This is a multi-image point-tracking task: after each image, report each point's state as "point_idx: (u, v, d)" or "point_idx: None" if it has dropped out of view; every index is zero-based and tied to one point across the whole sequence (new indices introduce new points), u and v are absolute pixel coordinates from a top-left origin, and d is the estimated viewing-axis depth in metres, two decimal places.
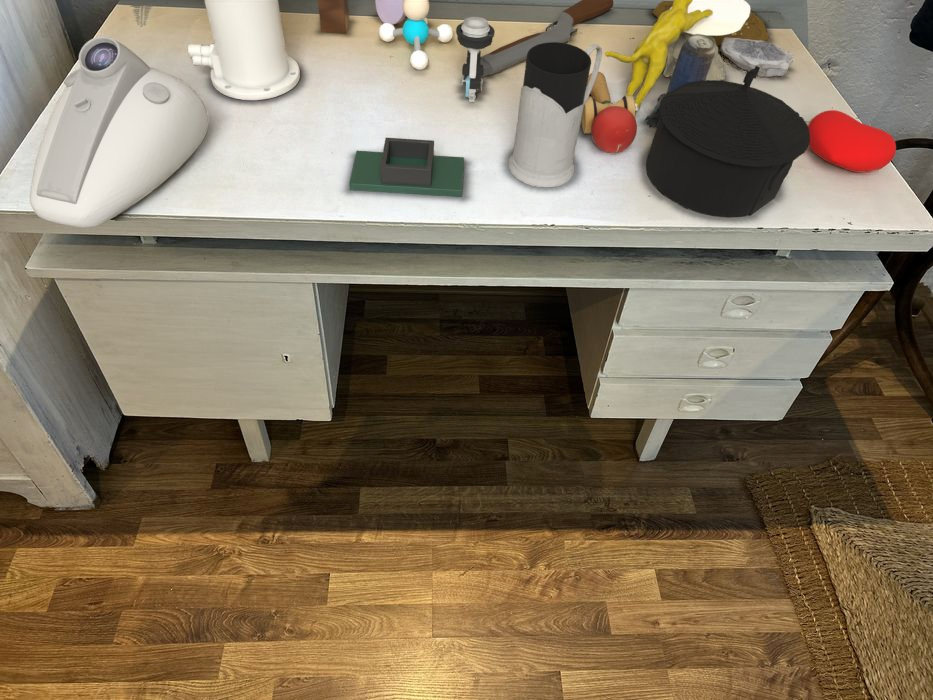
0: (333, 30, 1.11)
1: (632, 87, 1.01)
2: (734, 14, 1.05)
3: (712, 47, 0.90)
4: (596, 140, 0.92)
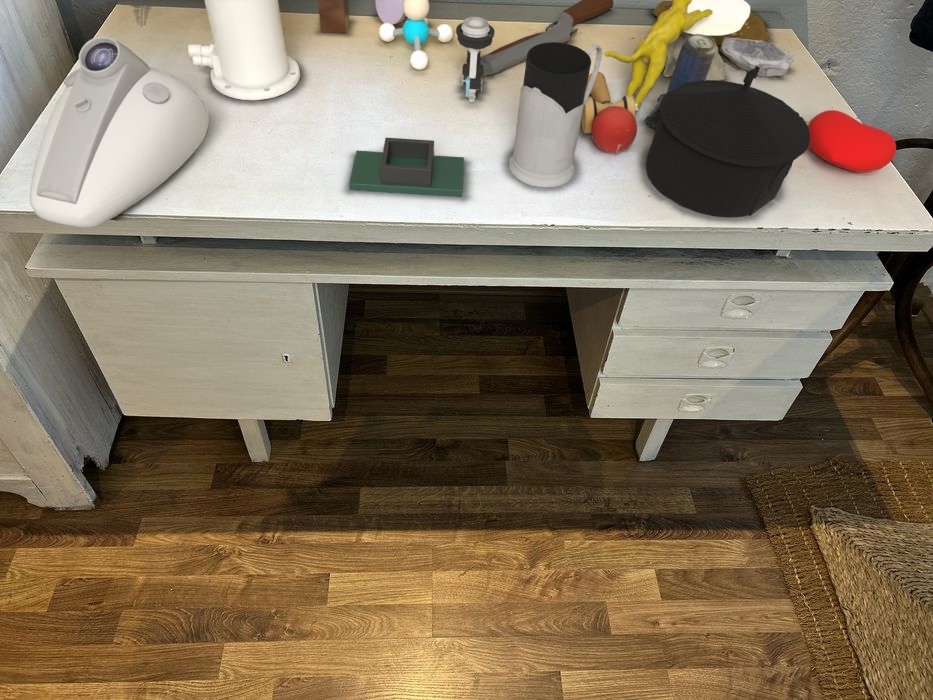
0: (333, 30, 1.11)
1: (632, 87, 1.01)
2: (734, 14, 1.05)
3: (712, 47, 0.90)
4: (596, 140, 0.92)
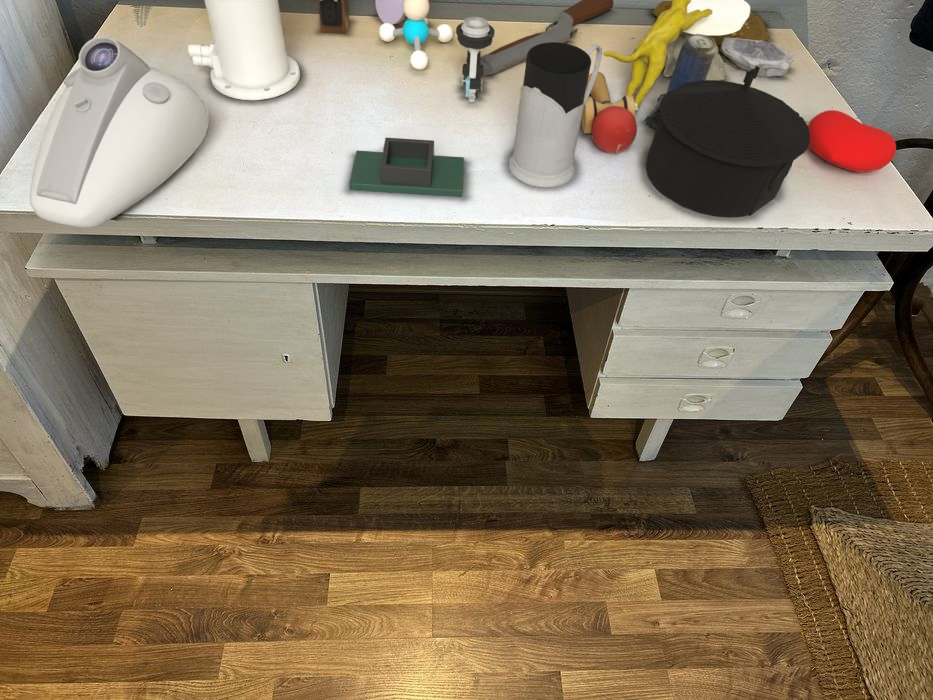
0: (333, 30, 1.11)
1: (632, 87, 1.01)
2: (734, 14, 1.05)
3: (712, 47, 0.90)
4: (596, 140, 0.92)
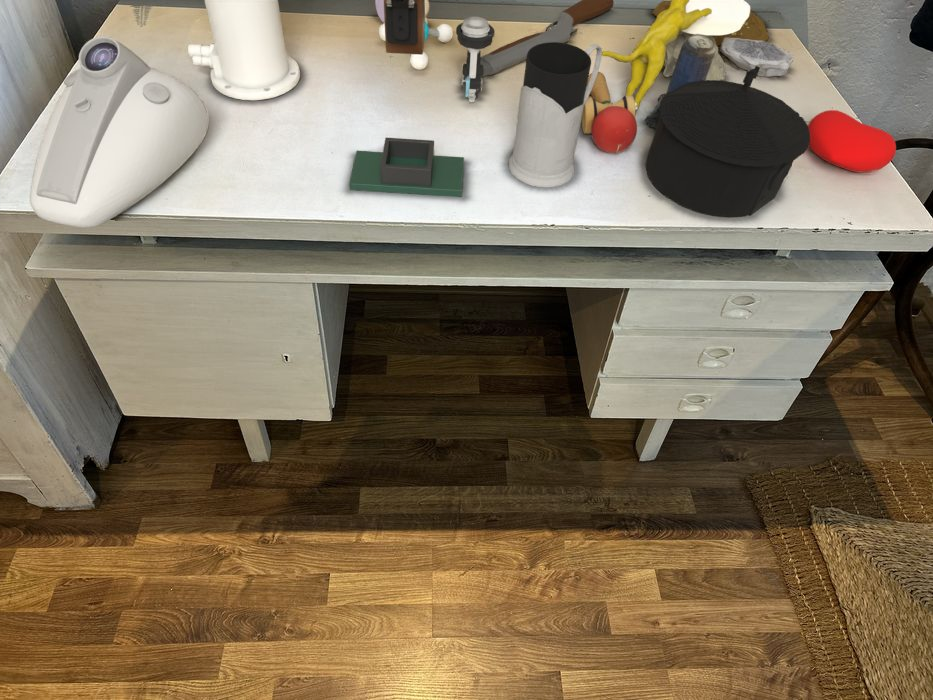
0: (404, 50, 0.75)
1: (631, 86, 1.01)
2: (734, 14, 1.05)
3: (712, 47, 0.90)
4: (596, 140, 0.92)
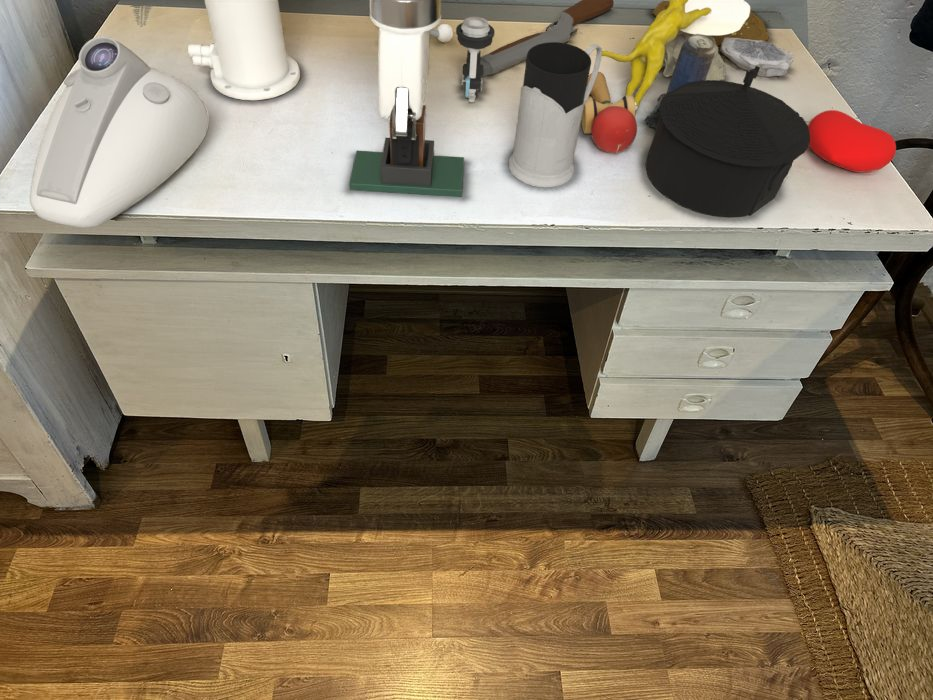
0: None
1: (631, 86, 1.01)
2: (734, 14, 1.05)
3: (712, 47, 0.90)
4: (596, 140, 0.92)
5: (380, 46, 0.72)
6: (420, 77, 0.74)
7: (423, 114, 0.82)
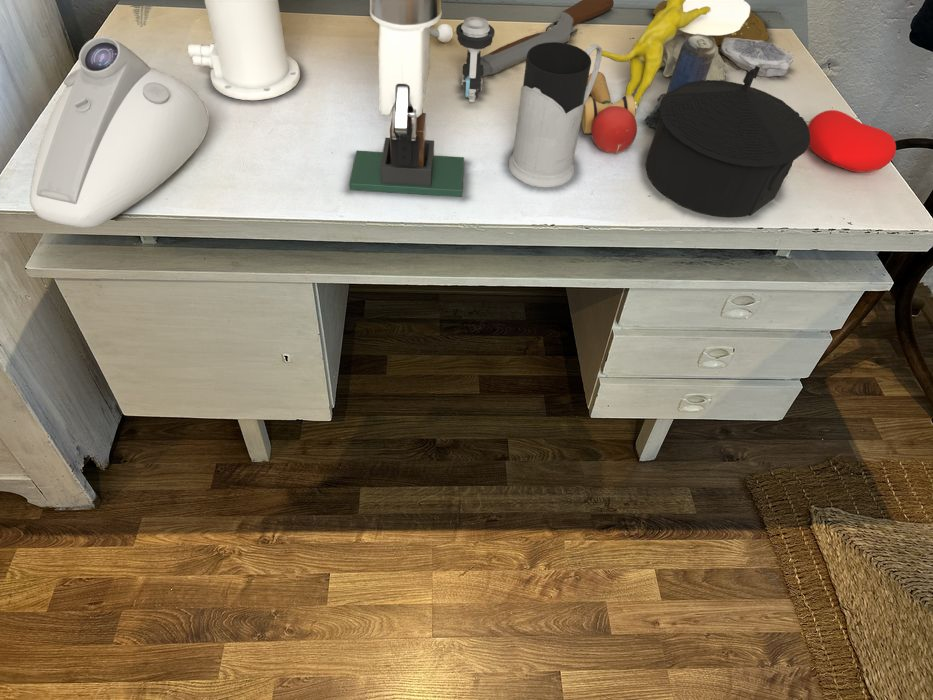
0: None
1: (630, 86, 1.01)
2: (734, 14, 1.05)
3: (712, 47, 0.90)
4: (596, 140, 0.92)
5: (380, 43, 0.71)
6: (421, 74, 0.73)
7: (423, 122, 0.83)
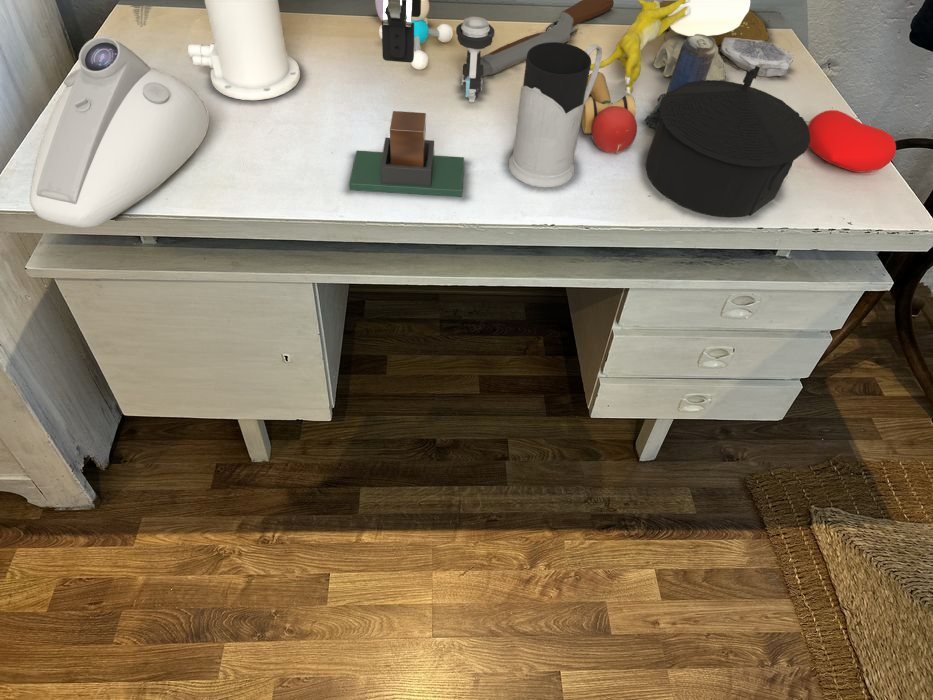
0: None
1: None
2: (733, 10, 1.04)
3: (712, 47, 0.90)
4: (596, 140, 0.92)
5: None
6: None
7: (423, 122, 0.83)
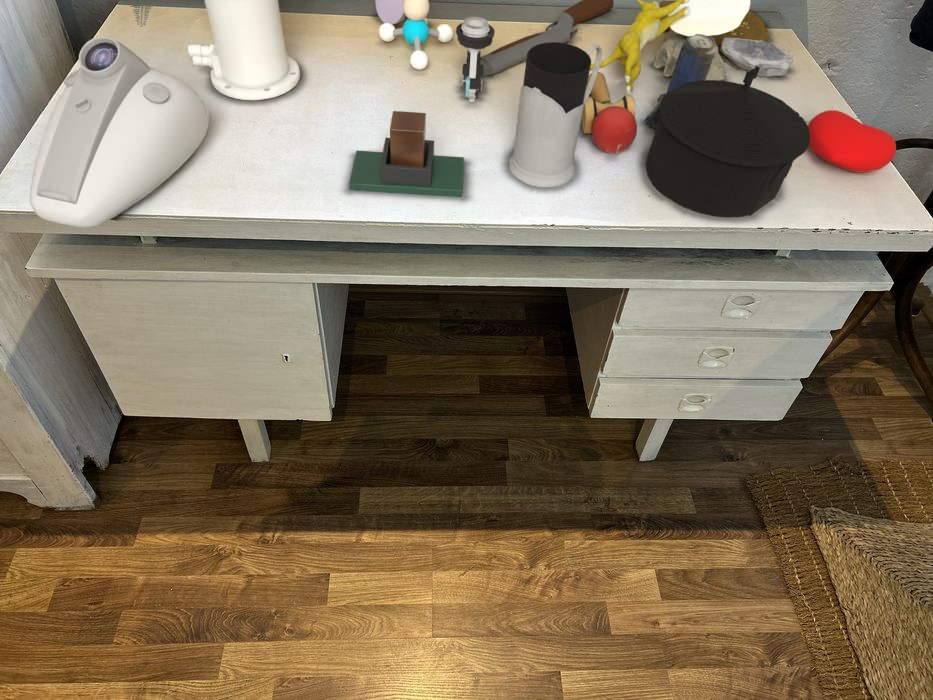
0: None
1: None
2: (733, 10, 1.04)
3: (712, 47, 0.90)
4: (596, 140, 0.92)
5: None
6: None
7: (423, 122, 0.83)
